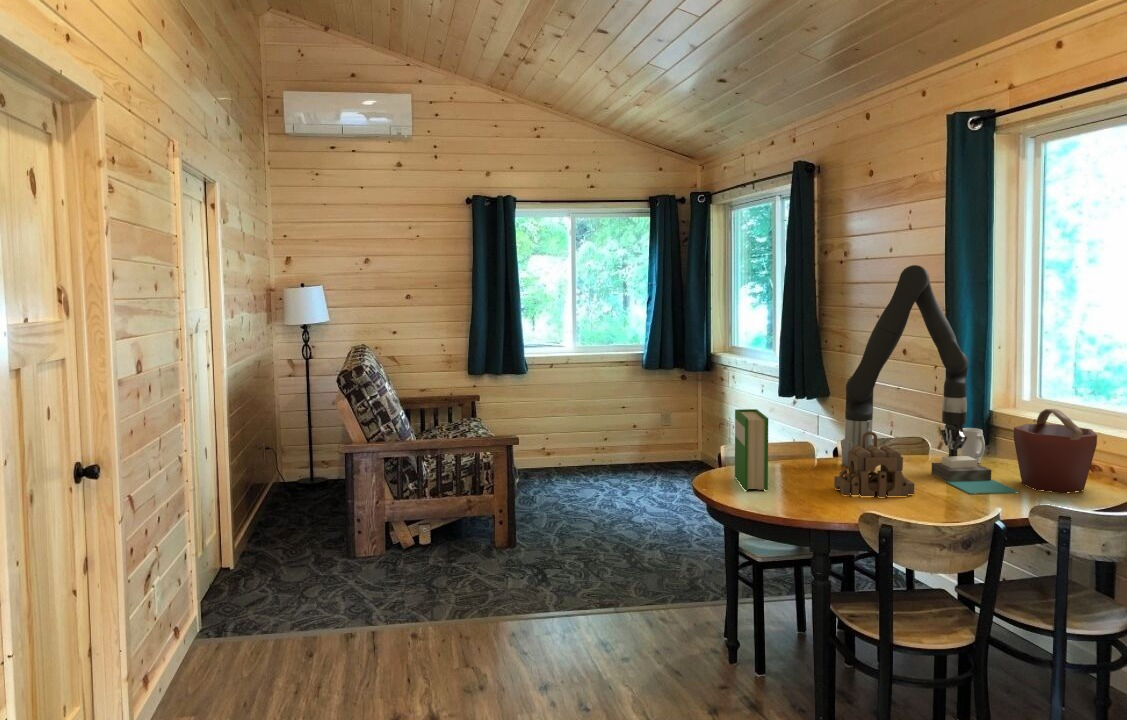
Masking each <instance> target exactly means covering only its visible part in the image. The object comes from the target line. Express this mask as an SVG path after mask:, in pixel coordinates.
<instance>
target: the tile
mask: <svg viewBox="0 0 1127 720" xmlns="http://www.w3.org/2000/svg"><path fill="white" fill-rule="evenodd" d="M941 462H942V464H943V465H945V466H948V467H950V468H970V467H977V463H978V460H976V459H974V458H972V457H969V456H962V455H957V456H950V457H949V456H941Z"/></svg>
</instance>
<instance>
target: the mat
mask: <svg viewBox="0 0 1127 720" xmlns="http://www.w3.org/2000/svg"><path fill="white" fill-rule="evenodd" d="M945 482H946V484H947V483H948V484H947V485H949V484H951V485H950V486H952V485H953V486H952V487H954V486H955V487H954V488H956V487H957V488H956V489H958V488H959V489H958V490H960V489H961V490H960V491H962V490H963V491H962V492H964V491H965V492H964V493H966V492H968V493H970V494H971V495H975V494H974V493H1004V494H1016V493H1015V492H1020V493H1021V491H1019V490H1017V489H1015V488H1013V487H1012V486H1008V485H1006V484H1004V483H1001V482H999V481H997V480H994V479H992V478H991V480H985V481H951V482H950V481H944V483H945ZM968 493H967V494H968ZM970 494H969V495H970Z"/></svg>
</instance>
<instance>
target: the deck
mask: <svg viewBox="0 0 1127 720" xmlns="http://www.w3.org/2000/svg"><path fill="white" fill-rule="evenodd" d="M930 475H932V476H934V477H936V478H939V479H940V478H941V480H942V479H943V481H944V480H945V481H950V482H951V481H985V480H991V479H992V469H990V468H987V467H986V466H982V465H980V464H977V467H970V468H950V467H948V466H945V465H943V464H942V461H941V462H931V474H930ZM945 481H944V482H945Z"/></svg>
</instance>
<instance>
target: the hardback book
mask: <svg viewBox="0 0 1127 720" xmlns="http://www.w3.org/2000/svg"><path fill="white" fill-rule="evenodd" d="M735 477H736V478H737V480H738V481H739V482H740V484H741V485H742V487H743V488H744V489H745V490H748V489H758V490H763V489H765V490H769V488H768V487H769V417H767V416H766V415H765V414H764V413H762V412H761V411H760V410H759V409H758V408H755V409H750V408H749V409H747V408H746V409H745V408H744V409H740V408H739V409H734V478H735ZM748 491H749V490H748Z"/></svg>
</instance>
